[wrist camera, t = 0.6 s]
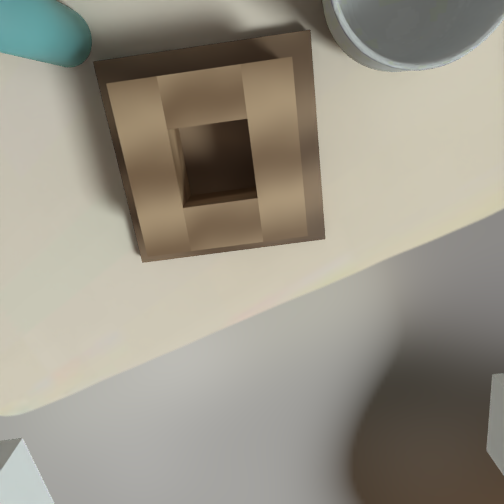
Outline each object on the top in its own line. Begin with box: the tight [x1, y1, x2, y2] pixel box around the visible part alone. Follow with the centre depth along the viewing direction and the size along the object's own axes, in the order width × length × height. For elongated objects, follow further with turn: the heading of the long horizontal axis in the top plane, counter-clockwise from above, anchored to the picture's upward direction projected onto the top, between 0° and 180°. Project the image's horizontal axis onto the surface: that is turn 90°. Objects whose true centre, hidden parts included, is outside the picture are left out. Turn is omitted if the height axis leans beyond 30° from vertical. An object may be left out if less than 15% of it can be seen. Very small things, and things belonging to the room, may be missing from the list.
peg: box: [0, 0, 92, 67], centre depth 23 cm, size 4×4×12 cm
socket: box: [93, 30, 325, 263], centre depth 30 cm, size 16×16×6 cm
